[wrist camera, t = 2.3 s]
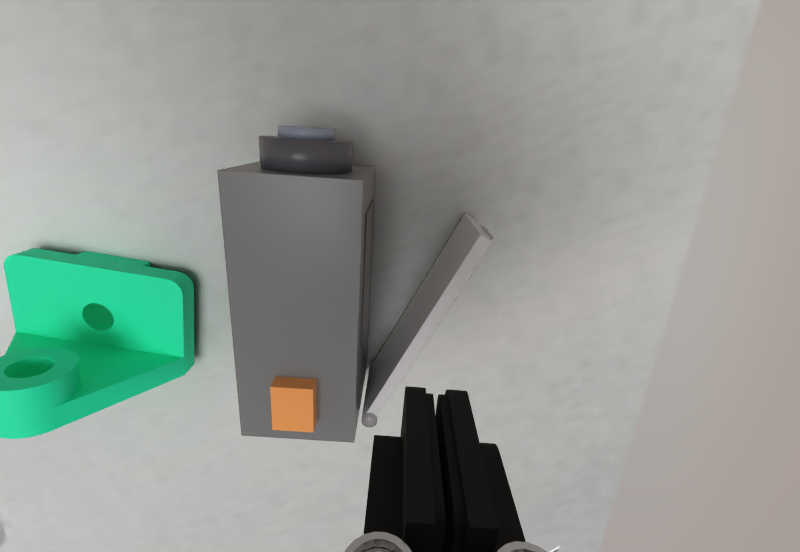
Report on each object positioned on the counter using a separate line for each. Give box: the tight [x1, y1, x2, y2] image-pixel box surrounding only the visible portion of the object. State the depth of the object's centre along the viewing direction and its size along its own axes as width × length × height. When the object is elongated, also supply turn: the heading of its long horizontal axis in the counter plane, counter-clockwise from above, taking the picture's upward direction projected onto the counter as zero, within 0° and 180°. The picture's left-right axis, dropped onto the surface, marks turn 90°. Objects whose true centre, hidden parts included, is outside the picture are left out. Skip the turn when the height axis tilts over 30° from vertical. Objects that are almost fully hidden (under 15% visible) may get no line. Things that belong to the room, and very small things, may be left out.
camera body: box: [217, 125, 375, 442], centre depth 25 cm, size 18×7×9 cm, turn 176°
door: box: [362, 214, 494, 427], centre depth 27 cm, size 14×1×6 cm, turn 151°
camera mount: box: [0, 248, 194, 439], centre depth 26 cm, size 12×8×10 cm, turn 80°
